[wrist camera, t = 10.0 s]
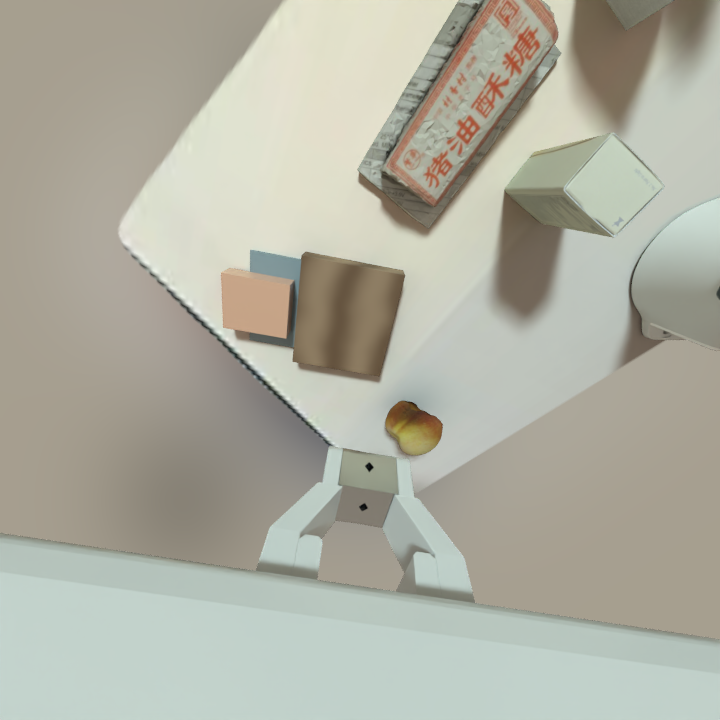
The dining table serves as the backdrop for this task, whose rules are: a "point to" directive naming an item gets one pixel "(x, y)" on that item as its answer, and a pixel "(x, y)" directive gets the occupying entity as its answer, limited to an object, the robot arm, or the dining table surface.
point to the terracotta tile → (257, 302)
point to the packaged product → (460, 101)
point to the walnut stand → (345, 313)
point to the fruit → (413, 428)
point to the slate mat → (283, 269)
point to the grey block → (635, 10)
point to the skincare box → (586, 185)
